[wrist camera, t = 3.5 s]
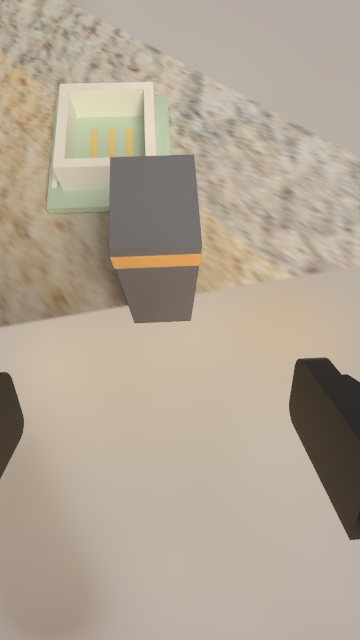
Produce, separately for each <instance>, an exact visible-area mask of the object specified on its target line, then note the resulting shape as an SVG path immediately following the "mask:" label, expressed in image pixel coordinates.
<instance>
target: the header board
mask: <svg viewBox="0 0 360 640" xmlns="http://www.w3.org/2000/svg"><path fill="white" fill-rule="evenodd" d="M166 155H171V148H170V132H169V115H168V98H167V95H154V88H153V82H128V83H81V84H60V89H59V97H58V98H56V107H55V118H54V129H53V140H52V151H51V162H50V173H49V184H48V195H47V206H46V209H47V211H48V213H49V214H51V213H80V212H108V211H109V193H110V157H132V156H166Z"/></svg>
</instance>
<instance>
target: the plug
mask: <svg viewBox="0 0 360 640" xmlns="http://www.w3.org/2000/svg"><path fill="white" fill-rule="evenodd" d="M201 249H202V240H201V228H200V217H199V206H198V195H197V184H196V172H195V161H194V155H166V156H132V157H110V193H109V252H110V259H111V262H112V264H113V267H114V269H116V272H117V274H118V277H119V280H120V283H121V286H122V289H123V291H124V294H125V297H126V300H127V303H128V306H129V308H130V311H131V314H132V317H133V320H134V323H148V322H171V321H190V320H191V314H192V308H193V302H194V295H195V288H196V282H197V275H198V269H199V265H200V264H201V257H202V250H201Z"/></svg>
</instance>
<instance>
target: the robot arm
mask: <svg viewBox="0 0 360 640" xmlns="http://www.w3.org/2000/svg"><path fill="white" fill-rule="evenodd" d="M289 409H290V416H291V420H292V423H293V425H294V428H295V429H296V431H297V434H298V436H299V437H300V440H301V442H302V444H303V446H304V448H305V450H306V452H307V454H308V456H309V458H310V460H311V462H312V464H313V466H314V468H315V470H316V472H317V474H318V476H319V478H320V480H321V482H322V484H323V486H324V488H325V490H326V492H327V494H328V496H329V498H330V500H331V502H332V504H333V506H334V508H335V511H336V512H337V515H338V517H339V519H340V521H341V523H342V525H343V527H344V529H345V531H346V533H347V535H348V537H349V539H350V540H355V539H360V382H358V381H357V380H355V379H354V378H352V377H351V376H349V375H341V374H340V372H339V371H338V370H337V369H336V368H335V366H334V365H333V364H332V363H331V361H330V360H329V359H327V358H307V359H298V360H297V362H296V364H295V369H294V376H293V382H292V389H291V395H290V402H289ZM23 427H24V419H23V414H22V410H21V407H20V404H19V401H18V397H17V394H16V391H15V387H14V384H13V381H12V378H11V376H10V375H9V374H8V373H6V372H2V373H0V478H1V476H2V474H3V472H4V470H5V468H6V466H7V464H8V462H9V460H10V459H11V457H12V454H13V453H14V450H15V449H16V447H17V444H18V443H19V441H20V439H21V436H22V433H23Z"/></svg>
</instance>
